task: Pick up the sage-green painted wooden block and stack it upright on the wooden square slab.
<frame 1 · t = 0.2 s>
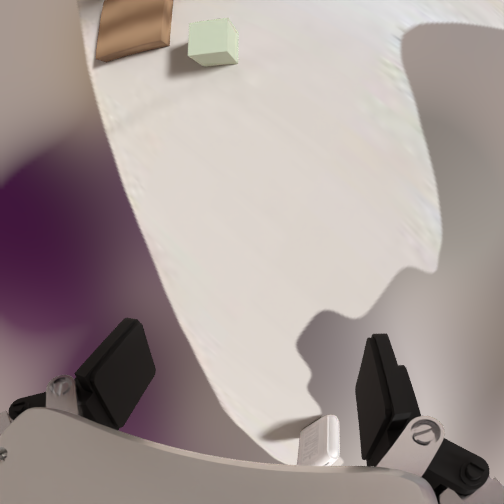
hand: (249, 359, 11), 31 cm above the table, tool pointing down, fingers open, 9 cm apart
wooden square slab: (138, 23, 32), on the table
sage block: (220, 49, 33), on the table
photo printer: (319, 424, 55), on the table
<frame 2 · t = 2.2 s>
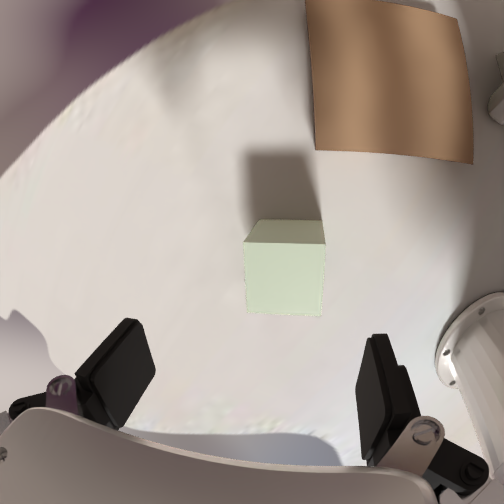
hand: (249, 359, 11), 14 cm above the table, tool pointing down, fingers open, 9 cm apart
wooden square slab: (388, 80, 17), on the table
sage block: (290, 249, 24), on the table
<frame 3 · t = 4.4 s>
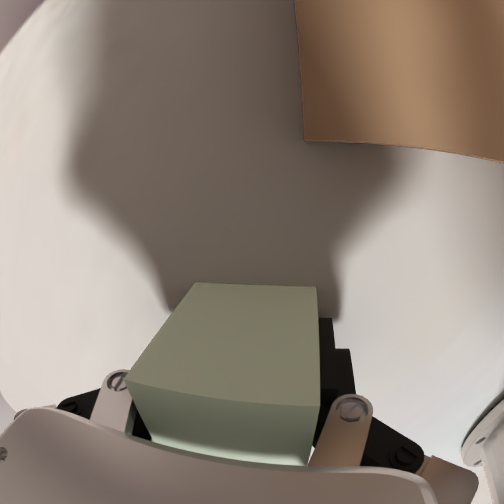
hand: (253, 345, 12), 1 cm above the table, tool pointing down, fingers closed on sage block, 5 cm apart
wooden square slab: (440, 15, 6), on the table
sage block: (256, 334, 13), on the table, touching gripper
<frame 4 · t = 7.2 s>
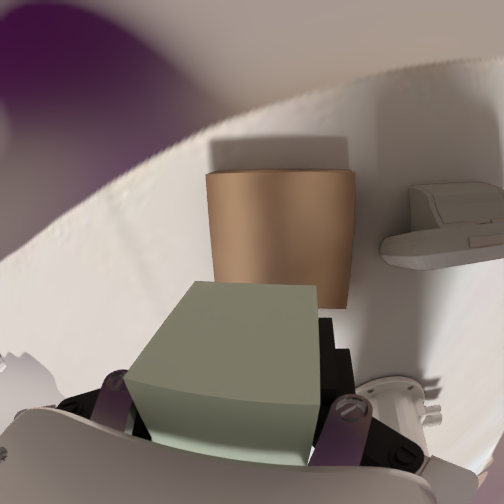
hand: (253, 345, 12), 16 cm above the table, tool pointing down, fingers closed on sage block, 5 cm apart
wooden square slab: (283, 234, 27), on the table
digital clock: (446, 224, 24), on the table
sage block: (256, 333, 13), point 15 cm above the table, touching gripper
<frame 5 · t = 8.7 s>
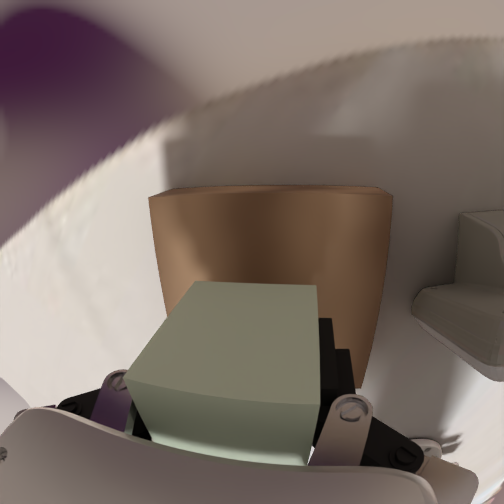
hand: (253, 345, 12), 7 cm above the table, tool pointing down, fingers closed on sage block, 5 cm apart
wooden square slab: (273, 283, 18), on the table
digital clock: (498, 265, 15), on the table
sage block: (256, 333, 13), point 6 cm above the table, touching gripper
when the fingers open (5 cm above the table, at t = 9.9 s): sage block stays where it is, resting on wooden square slab.
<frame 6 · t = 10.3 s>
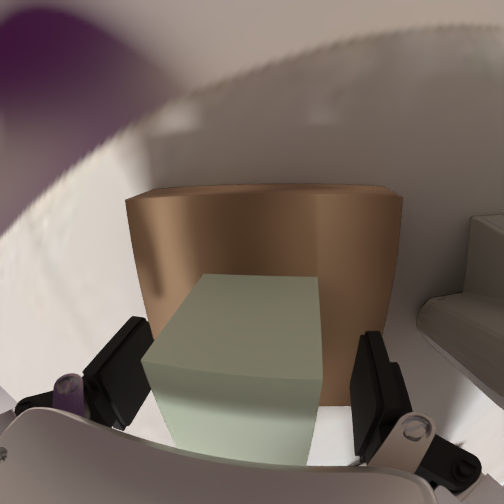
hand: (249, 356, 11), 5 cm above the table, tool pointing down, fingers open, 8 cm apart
wooden square slab: (267, 292, 16), on the table
sage block: (260, 323, 13), point 3 cm above the table, touching wooden square slab
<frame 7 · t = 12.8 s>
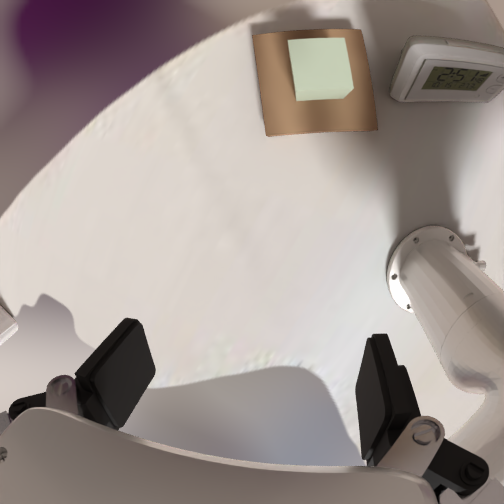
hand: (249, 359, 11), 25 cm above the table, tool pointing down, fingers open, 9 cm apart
wooden square slab: (314, 83, 28), on the table
digital clock: (438, 81, 25), on the table
sage block: (316, 77, 26), point 3 cm above the table, touching wooden square slab
photo printer: (8, 315, 55), on the table
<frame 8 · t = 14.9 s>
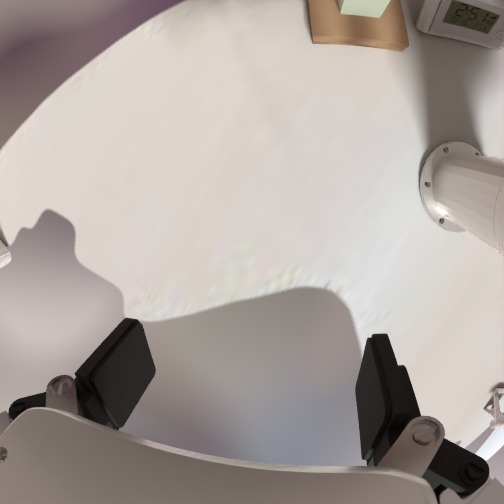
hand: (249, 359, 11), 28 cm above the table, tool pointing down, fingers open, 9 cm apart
wooden square slab: (353, 9, 26), on the table
digital clock: (455, 27, 23), on the table
sage block: (357, 0, 23), point 3 cm above the table, touching wooden square slab
photo printer: (2, 246, 51), on the table
portable electronic device stand: (496, 397, 43), on the table
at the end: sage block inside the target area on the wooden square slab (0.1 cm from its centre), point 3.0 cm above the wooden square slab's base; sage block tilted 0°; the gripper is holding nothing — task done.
